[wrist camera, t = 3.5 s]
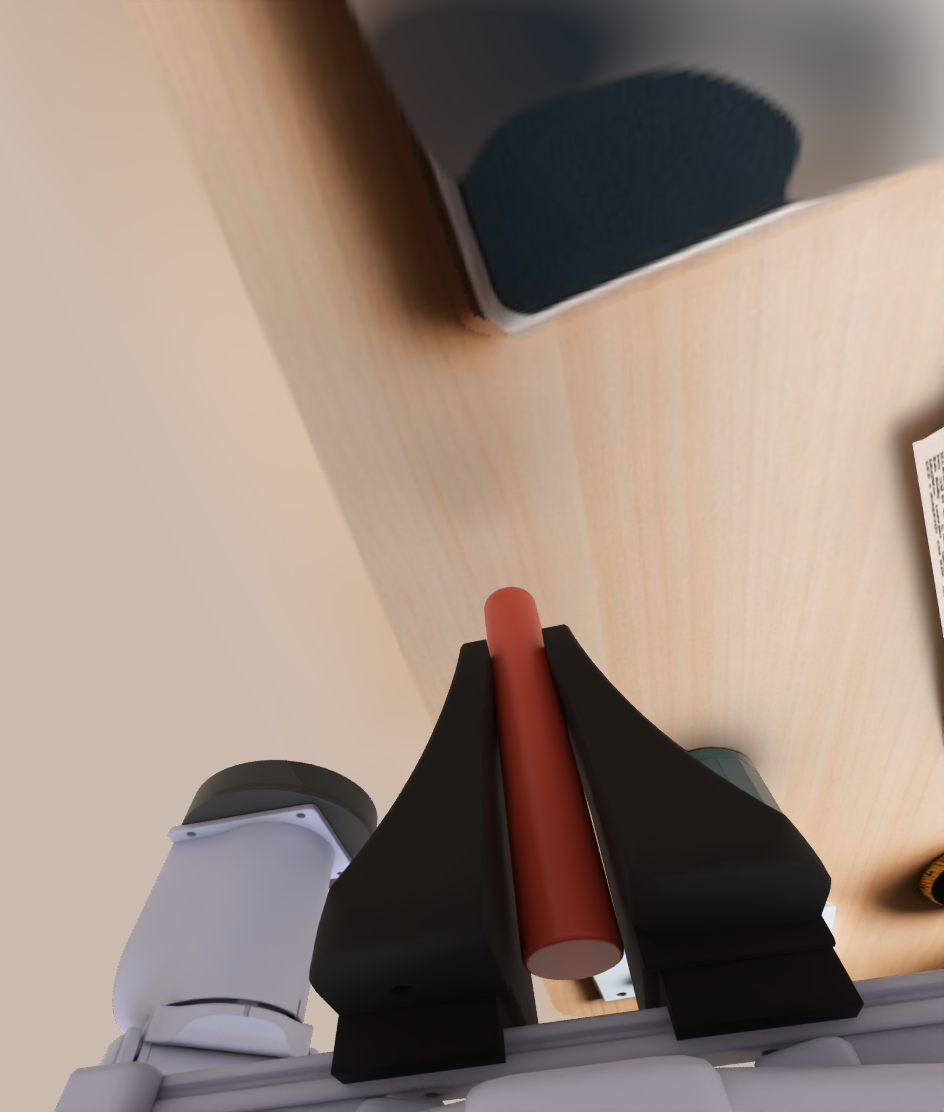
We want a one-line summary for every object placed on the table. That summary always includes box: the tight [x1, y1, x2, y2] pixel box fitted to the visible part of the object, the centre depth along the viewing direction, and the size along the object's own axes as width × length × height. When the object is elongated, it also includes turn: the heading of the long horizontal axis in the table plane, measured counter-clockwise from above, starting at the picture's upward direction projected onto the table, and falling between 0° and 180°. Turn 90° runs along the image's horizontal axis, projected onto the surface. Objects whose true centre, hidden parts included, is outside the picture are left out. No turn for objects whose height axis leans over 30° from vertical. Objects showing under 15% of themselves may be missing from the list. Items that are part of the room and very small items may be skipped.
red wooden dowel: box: [484, 587, 624, 980], centre depth 11 cm, size 2×2×9 cm
